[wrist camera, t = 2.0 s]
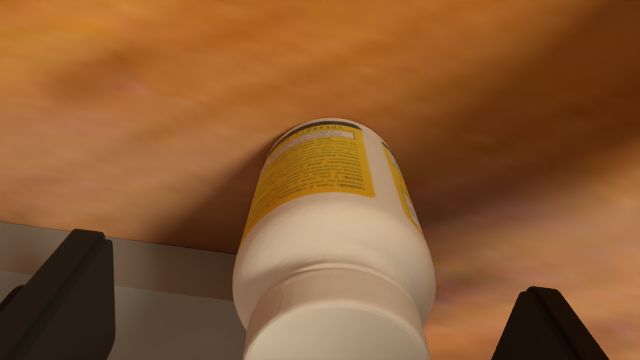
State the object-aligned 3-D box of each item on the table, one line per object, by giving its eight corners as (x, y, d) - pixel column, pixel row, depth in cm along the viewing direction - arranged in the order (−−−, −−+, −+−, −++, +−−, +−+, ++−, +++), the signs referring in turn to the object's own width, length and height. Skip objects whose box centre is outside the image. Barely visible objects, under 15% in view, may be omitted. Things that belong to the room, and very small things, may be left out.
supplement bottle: (235, 195, 19) (157, 398, 10) (313, 86, 17) (303, 215, 8) (344, 261, 20) (360, 494, 11) (427, 166, 18) (525, 354, 9)
